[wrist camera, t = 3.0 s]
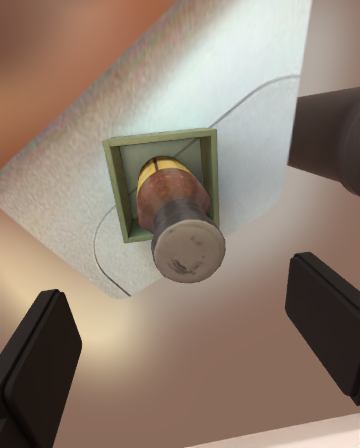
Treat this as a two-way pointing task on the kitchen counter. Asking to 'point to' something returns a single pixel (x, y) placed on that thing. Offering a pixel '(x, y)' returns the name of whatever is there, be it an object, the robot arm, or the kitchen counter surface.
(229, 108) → the kitchen counter surface
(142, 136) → the caddy
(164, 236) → the sauce bottle
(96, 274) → the kitchen counter surface
